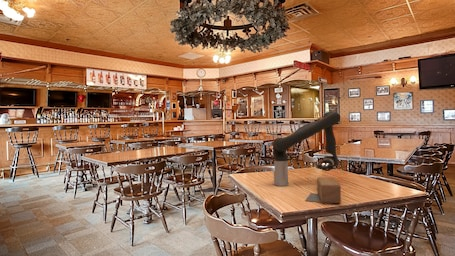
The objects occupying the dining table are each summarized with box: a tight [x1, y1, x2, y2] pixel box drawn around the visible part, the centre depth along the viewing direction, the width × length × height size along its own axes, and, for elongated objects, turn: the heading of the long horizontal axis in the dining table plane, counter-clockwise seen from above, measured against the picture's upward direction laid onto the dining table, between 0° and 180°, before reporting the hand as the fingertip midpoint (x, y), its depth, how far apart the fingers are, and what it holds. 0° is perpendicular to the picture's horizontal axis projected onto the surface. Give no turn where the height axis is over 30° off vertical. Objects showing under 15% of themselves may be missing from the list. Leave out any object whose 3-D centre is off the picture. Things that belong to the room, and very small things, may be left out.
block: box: [316, 176, 342, 204], centre depth 152 cm, size 10×10×20 cm
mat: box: [304, 192, 333, 205], centre depth 154 cm, size 14×17×1 cm
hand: (323, 168), depth 165 cm, fingers closed
